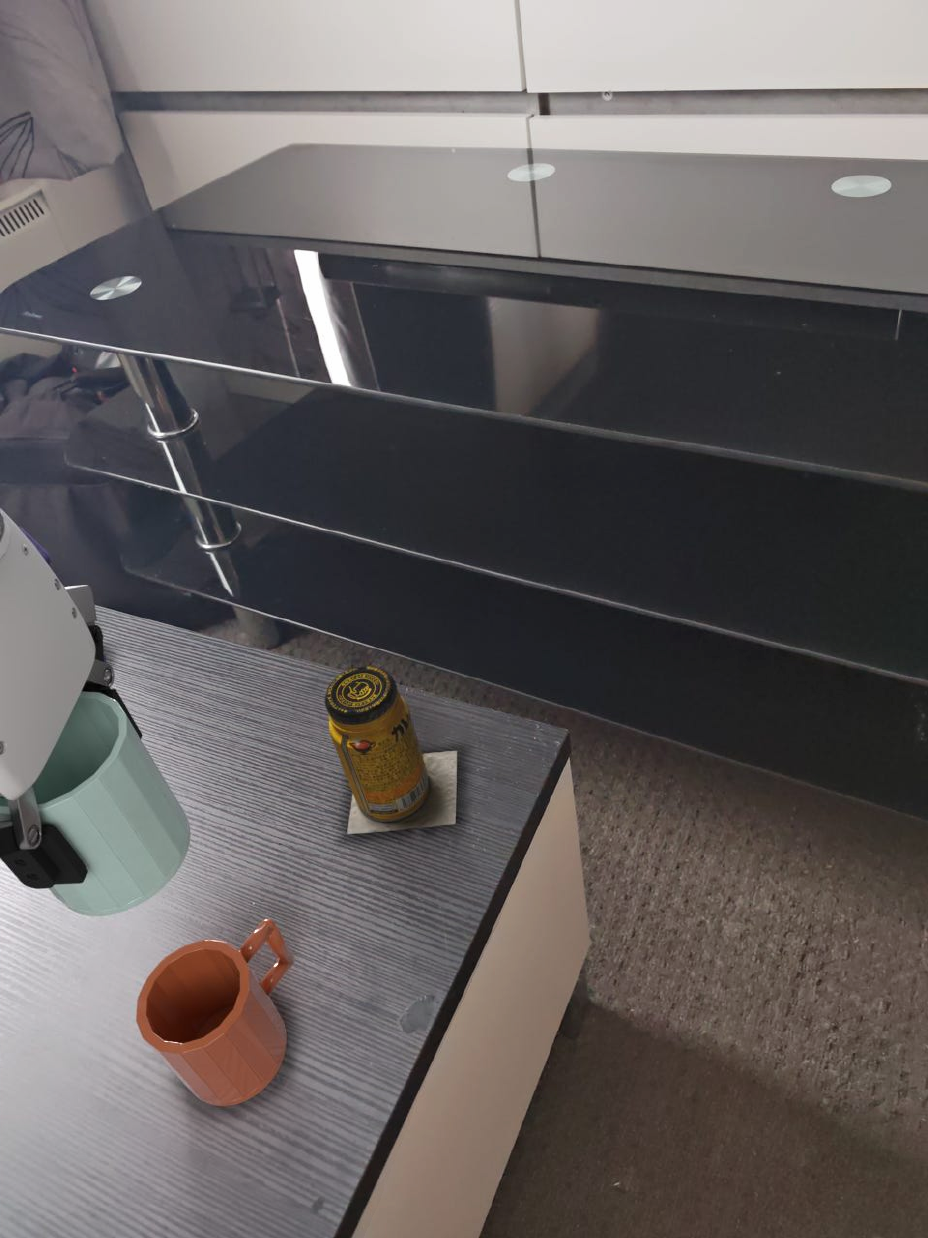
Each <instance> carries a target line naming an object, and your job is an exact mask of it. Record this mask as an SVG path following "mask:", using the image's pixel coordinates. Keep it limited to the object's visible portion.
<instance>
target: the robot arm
mask: <svg viewBox="0 0 928 1238" xmlns="http://www.w3.org/2000/svg"><path fill="white" fill-rule="evenodd" d="M19 527H20V526H19ZM19 527H18V525H17V524H16V523H15V521H14V520H12V518H11V517H9V515H8V514H6V512H5V511H4V510H3V509H2V507H0V798H7V801H8V806H9V811H10V816H11V821H0V860H1V861H2V862H3V863H4V864H5V866H6V867H7V869H9V870H10V871H11V873H13V875H14V876H15V877H16V878H17V879H18V881H19V882H20V883H21V884H22V885H24V886H26V887H27V888H30V889H36V890H41V889H43V890H44V889H45V890H46V889H49V888H51V887H53V886H54V885H59V884H80V883H83V882H84V880H85V878H86V875H87V873H88V870H87V869H86V865H85V864H84V863H83V861H82V860H81V859H80V857H79V856H78V855H77V854H76V852H75V851H74V850H73V848H72V847H71V846H70V844H69V843H68V842H67V841H66V839H65V838H64V837H63V835H62V834H61V833H60V832H59V830H58V829H57V828H56V827H55V826H53V825H50V824H44V825H41V822H40V817H39V812H38V807H37V802H36V797H35V792H34V787H33V783H34V782H35V781H36V780H37V778H38V777H39V775H40V773H41V772H42V770H43V768H44V766H45V764H46V762H47V760H48V758H49V756H50V754H51V753H52V751H53V749H54V747H55V745H56V743H57V741H58V739H59V737H60V735H61V733H62V730H63V728H64V726H65V724H66V722H67V720H68V718H69V716H70V714H71V712H72V710H73V708H74V706H75V704H76V702H77V700H78V697H79V695H80V693H81V691H85V692H99V693H102V694H104V695H106V696H108V697H110V698H112V699H114V700H116V701H117V702H118V703H119V705H120V706H121V708H122V709H123V711H124V712H125V714H126V716H127V717H128V719H129V721H130V722H131V724H132V726H133V727H134V729H135V731H136V732H137V734H138V736H139V737H140V739H141V740H142V738H143V733H142V731H141V729H140V727H139V726H138V724H137V723H136V721H135V719H134V718H133V716H132V714H131V712H130V711H129V709H128V708H127V706H126V704H125V703H124V701H123V699H122V697H121V696H120V694H119V693H118V691H117V689H116V688H111V687H112V686H113V685H114V683H115V670H114V668H113V666H112V665H111V664H109V663H106V662H105V663H104V654H105V651H104V634H103V631H102V628H101V627H100V625H98V624H96V623H95V622H97V621H98V619H97V612H96V605H95V598H94V592H93V589H92V587H91V586H90V585H89V584H84V585H73V586H64V585H63V584H62V582H61V580H60V579H59V578H58V576H57V575H56V573H55V571H54V570H53V569H52V568H51V566H50V565H48V564H47V562H46V561H45V560H44V558H43V557H42V556H41V554H40V553H39V552H38V550H37V549H36V548H35V547H34V545H33V544H32V543H31V542H30V540H29V539H28V538H27V537H26V536H25V534H24V533H23V532H22V531H21V530H20V529H19Z"/></svg>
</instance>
